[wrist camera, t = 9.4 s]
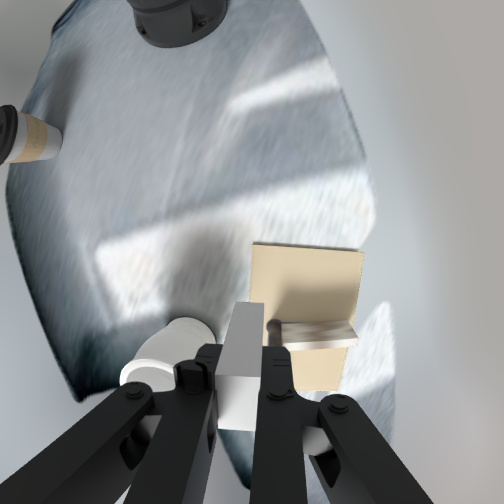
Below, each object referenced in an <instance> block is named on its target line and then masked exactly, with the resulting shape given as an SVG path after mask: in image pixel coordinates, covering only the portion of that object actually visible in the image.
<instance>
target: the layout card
mask: <svg viewBox="0 0 504 504" xmlns="http://www.w3.org/2000/svg"><path fill="white" fill-rule="evenodd" d="M363 257H364V252H354V251H341V250H327V249H313V248H299V247H285V246H270V245H256V244H253V245H252V262H251V279H250V295H249V302H256V303H264V327H263V346H268V331H267V323H268V322H269V321H271V320H274V319H276V320H279V321H280V322H281V323H282V324H293V323H313V322H329V321H343V320H348V321H349V323H350V325H351V326H352V325H353V320H354V315H355V309H356V304H357V297H358V292H359V285H360V279H361V271H362V265H363ZM281 337H282V331H281ZM282 346H283V344H282ZM347 350H348V347H341V348H329V349H315V350H298V351H289V352H290V354H291V363H292V372H293V382H294V388H295V390H299V391H338V387H339V383H340V379H341V375H342V371H343V367H344V363H345V358H346V354H347Z"/></svg>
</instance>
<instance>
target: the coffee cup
mask: <svg viewBox="0 0 504 504" xmlns="http://www.w3.org/2000/svg"><path fill="white" fill-rule="evenodd" d="M61 145H62V134H61V132H60V130H59V129H58V128H56V127H53V126H51V125H49V124H47V123H45V122H44V121H42V120H40V119H38V118H35V117H33V116H31V115H28V114H26V113H24V112H19V111H17V110H16V109H15V107H14V106H12V105H3V106H1V107H0V165H1V164H3V163H4V162H5V163H14V162H27V161H33V160H46V159H51V158H53V157H55V156H56V155H57V154H58V152H59V151H60V148H61Z"/></svg>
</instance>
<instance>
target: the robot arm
mask: <svg viewBox="0 0 504 504" xmlns="http://www.w3.org/2000/svg"><path fill="white" fill-rule="evenodd" d="M127 2H128V3H129V4H130V5H131V6H132V8H133V13H134V19H135V25H136V28H137V31H138V32H139V34H140V35H141V36H142V37H143V39H144V40H145V41H146V42H148V43H149V44H151V45H153V46H156V47H161V48H175V47H181V46H185V45H189V44H191V43H194V42H196V41H198V40H200V39H202V38H204V37H206V36H207V35H209V34H210V33H211V32H213V31H214V30H215V29H216V28H217V27H218V26H219V24H220V23H221V22H222V20H223V18H224V16H225V14H226V9H227V5H226V1H225V0H127ZM263 327H264V303H256V302H236V304H235V307H234V310H233V314H232V317H231V321H230V324H229V327H228V331H227V334H226V338H225V341H224V344H223V345H222V344H209V343H205V344H204V345H203V346H201V347H200V348H199V349H198V351H197V353H196V356H195V358H194V359H188V360H184V361H181V362H179V363H177V364H175V366H174V367H173V373H174V380H175V388H174V390H170V391H163V392H153V390H152V388H151V387H150V386H149V385H148V384H146V383H143V382H139V381H134V382H128V383H125V384H123V385H121V386H120V387H119V388H117V389H116V390H115V391H114V392H113V393H111V394H110V395H109V396H108V397H107V398H106V399H104V400H103V401H102V402H101V403H100V404H98V405H97V406H96V407H95V408H94V409H93V410H91V411H90V412H89V413H88V414H86V415H85V416H84V417H83V418H82V419H80V420H79V421H78V422H77V423H76V424H74V425H73V426H72V427H71V428H70V429H69V430H67V431H66V432H65V433H64V434H62V435H61V436H60V437H59V438H57V439H56V440H55V441H54V442H52V443H51V444H50V445H49V446H48V447H46V448H45V449H44V450H43V451H41V452H40V453H39V454H38V455H36V456H35V457H34V458H33V459H31V460H30V461H29V462H28V463H27V464H25V465H24V466H23V467H21V468H20V469H19V470H18V471H16V472H15V473H14V474H13V475H11V476H10V477H9V478H8V479H6V480H5V481H4V482H2V483H1V484H0V504H114V503H115V502H116V501H117V500H118V499H119V498H120V497H121V495H122V494H123V493H124V492H125V491H126V490H127V488H128V487H129V486H130V485H131V486H130V489H129V491H128V493H127V496H126V498H125V500H124V502H123V504H203V499H204V494H205V490H206V485H207V480H208V475H209V471H210V466H211V461H212V457H213V452H214V448H215V443H216V427H217V422H218V428H220V429H232V430H245V431H255V443H254V455H253V467H252V479H251V490H250V502H249V504H308V501H307V488H306V477H305V465H304V454H308V455H309V459H310V461H311V463H312V465H313V467H314V470H315V472H316V474H317V476H318V478H319V480H320V483H321V485H322V487H323V489H324V491H325V493H326V495H327V497H328V499H329V502H330V504H434V503H433V502H432V501H431V499H430V498H429V497H428V495H427V494H426V493H425V491H424V490H423V489H422V488H421V486H420V485H419V484H418V482H417V481H416V480H415V478H414V477H413V476H412V474H411V473H410V472H409V471H408V469H407V468H406V467H405V465H404V464H403V463H402V461H401V460H400V459H399V457H398V456H397V455H396V454H395V452H394V451H393V449H392V448H391V447H390V445H389V444H388V443H387V442H386V440H385V439H384V438H383V436H382V435H381V434H380V432H379V431H378V430H377V428H376V427H375V426H374V424H373V423H372V422H371V420H370V419H369V418H368V416H367V415H366V414H365V412H364V411H363V410H362V408H361V407H360V406H359V404H358V403H357V402H356V401H355V400H354V399H353V398H351V397H349V396H347V395H342V394H332V395H329V396H326V397H324V398H323V399H322V400H321V402H316V401H311V400H307V399H305V398H303V397H301V396H300V395H298V394H297V392H296V390H295V388H294V382H293V372H292V363H291V354H290V352H289V351H288V349H287V348H286V347H284V346H263Z"/></svg>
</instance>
